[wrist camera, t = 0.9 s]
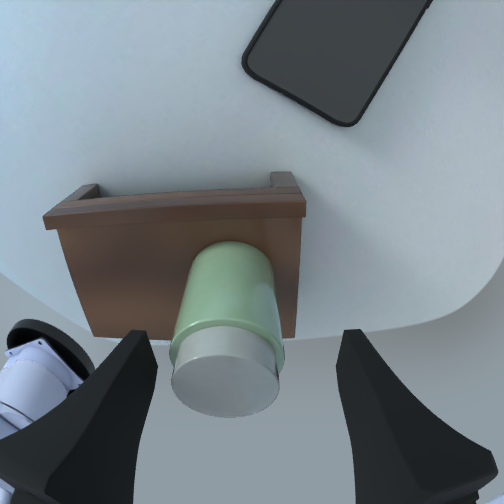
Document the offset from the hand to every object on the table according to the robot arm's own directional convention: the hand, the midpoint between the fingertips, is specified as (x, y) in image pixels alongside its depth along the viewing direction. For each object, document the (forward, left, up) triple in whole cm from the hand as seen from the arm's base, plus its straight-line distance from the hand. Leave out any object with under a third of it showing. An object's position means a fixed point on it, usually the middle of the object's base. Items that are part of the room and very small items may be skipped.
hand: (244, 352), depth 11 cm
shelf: (-4, +1, -10) cm, 11 cm away
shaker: (-1, 0, -6) cm, 6 cm away
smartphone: (+12, +11, -10) cm, 19 cm away
